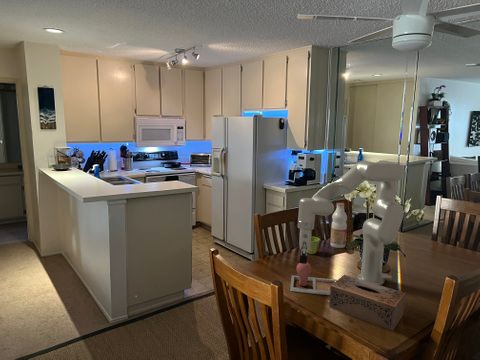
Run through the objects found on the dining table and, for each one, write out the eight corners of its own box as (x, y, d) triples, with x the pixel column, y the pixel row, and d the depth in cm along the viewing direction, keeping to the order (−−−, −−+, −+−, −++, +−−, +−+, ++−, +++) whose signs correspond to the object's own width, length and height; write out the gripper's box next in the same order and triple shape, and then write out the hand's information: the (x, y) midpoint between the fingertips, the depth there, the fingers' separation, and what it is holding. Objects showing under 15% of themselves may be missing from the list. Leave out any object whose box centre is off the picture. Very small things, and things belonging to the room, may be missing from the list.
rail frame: (336, 282, 168) (336, 279, 168) (339, 296, 155) (339, 293, 154) (291, 278, 172) (291, 275, 172) (290, 291, 159) (290, 288, 159)
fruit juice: (327, 243, 224) (330, 202, 220) (340, 242, 226) (343, 201, 222) (334, 248, 215) (337, 205, 211) (348, 247, 217) (351, 204, 213)
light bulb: (307, 290, 160) (308, 266, 158) (293, 286, 163) (294, 262, 161) (312, 284, 166) (314, 261, 164) (299, 281, 169) (300, 258, 167)
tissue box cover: (403, 315, 140) (405, 292, 139) (392, 331, 129) (395, 307, 128) (342, 295, 156) (344, 274, 155) (329, 307, 145) (330, 285, 144)
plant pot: (303, 249, 213) (303, 235, 212) (318, 250, 212) (319, 236, 211) (303, 254, 204) (304, 240, 203) (319, 255, 203) (320, 241, 202)
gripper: (314, 230, 150) (311, 267, 153) (313, 220, 167) (311, 253, 170) (297, 229, 152) (294, 265, 154) (298, 219, 169) (295, 252, 171)
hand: (303, 259), depth 162 cm, fingers open, 9 cm apart
